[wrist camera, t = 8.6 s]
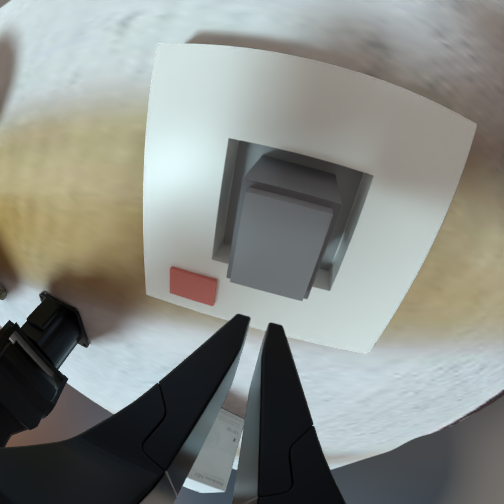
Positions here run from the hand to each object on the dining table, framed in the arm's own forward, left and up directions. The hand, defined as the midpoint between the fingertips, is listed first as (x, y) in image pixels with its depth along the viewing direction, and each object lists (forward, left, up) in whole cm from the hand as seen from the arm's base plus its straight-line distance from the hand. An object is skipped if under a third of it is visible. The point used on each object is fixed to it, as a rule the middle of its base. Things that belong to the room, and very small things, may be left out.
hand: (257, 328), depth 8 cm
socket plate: (0, 0, -10) cm, 10 cm away
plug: (0, 0, -9) cm, 9 cm away
